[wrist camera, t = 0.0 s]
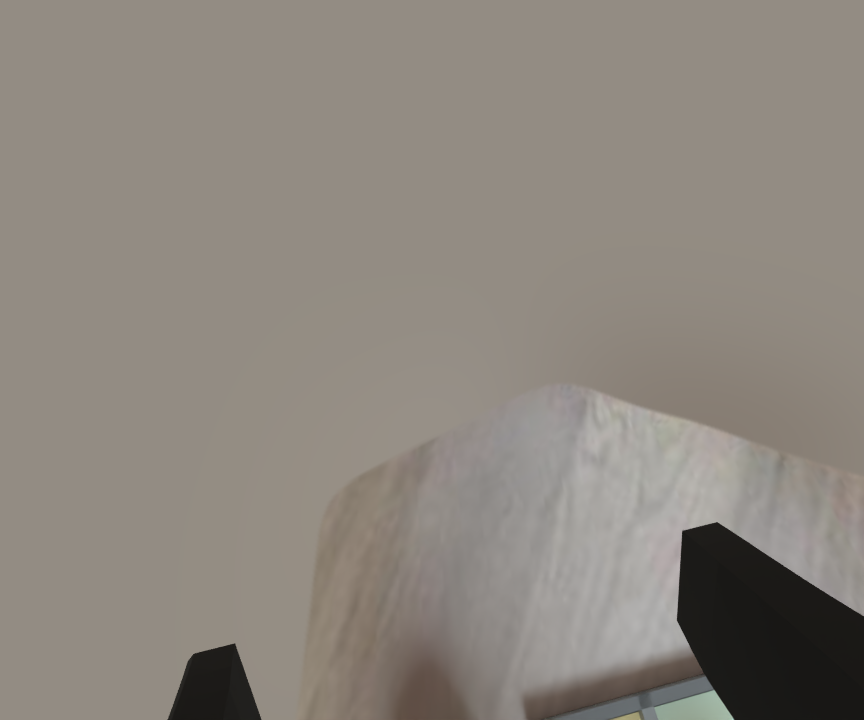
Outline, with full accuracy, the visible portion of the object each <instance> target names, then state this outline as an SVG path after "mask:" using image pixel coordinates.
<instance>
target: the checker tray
mask: <svg viewBox="0 0 864 720" xmlns="http://www.w3.org/2000/svg"><path fill="white" fill-rule="evenodd" d="M542 720H734V719H733V717H732V716H731V714H730V713H729V711H728V710H727V708H726V707H725V705H724V704H723V702H722V701H721V699H720V698H719V696H718V695H717V693H716V692H715V690H714V689H713V687H712V686H711V684H710V683H709V681H708V680H707V678H706V676H705V674H702V675H699V676H695V677H692V678H688V679H684V680H681V681H677V682H674V683H670V684H667V685H663V686H660V687H656V688H652V689H649V690H645V691H642V692H638V693H635V694H631V695H628V696H624V697H620V698H617V699H613V700H610V701H606V702H603V703H599V704H596V705H592V706H588V707H585V708H581V709H578V710H574V711H571V712H567V713H564V714H560V715H556V716H553V717H549V718H546V719H542Z"/></svg>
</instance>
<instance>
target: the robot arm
mask: <svg viewBox="0 0 864 720" xmlns="http://www.w3.org/2000/svg"><path fill="white" fill-rule="evenodd" d="M677 621H678V623H679V625H680V627H681V629H682V631H683V633H684V635H685V637H686V639H687V641H688V643H689V645H690V647H691V649H692V651H693V653H694V655H695V657H696V659H697V661H698V663H699V665H700V666H701V668H702V670H703V672H704V674H705V676H706V678H707V680H708V681H709V683H710V684H711V686H712V687H713V689H714V690H715V692H716V693H717V695H718V696H719V698H720V699H721V701H722V702H723V704H724V705H725V707H726V708H727V710H728V711H729V713H730V714H731V716H732V717H733V719H734V720H864V616H862V615H861V614H859V613H857V612H856V611H854V610H852V609H851V608H849V607H848V606H846V605H844V604H843V603H841V602H839V601H838V600H836V599H835V598H833V597H831V596H830V595H828V594H827V593H825V592H823V591H822V590H820V589H819V588H817V587H815V586H814V585H812V584H811V583H809V582H808V581H806V580H804V579H803V578H801V577H800V576H798V575H797V574H795V573H794V572H792V571H791V570H789V569H788V568H786V567H784V566H783V565H781V564H780V563H778V562H777V561H775V560H774V559H772V558H771V557H769V556H768V555H766V554H765V553H763V552H762V551H760V550H759V549H757V548H756V547H754V546H753V545H751V544H750V543H748V542H747V541H745V540H744V539H742V538H741V537H739V536H738V535H736V534H735V533H733V532H732V531H730V530H728V529H727V528H725V527H724V526H722V525H721V524H719V523H718V522H716V523H712V524H708V525H704V526H700V527H696V528H692V529H688V530H684V531H682V546H681V562H680V579H679V595H678V612H677ZM168 720H261V717H260V714H259V711H258V709H257V706H256V703H255V700H254V697H253V694H252V691H251V688H250V686H249V683H248V680H247V677H246V674H245V671H244V668H243V665H242V662H241V659H240V657H239V654H238V651H237V649H236V645H235V644H231V645H227V646H223V647H219V648H215V649H211V650H207V651H203V652H199V653H195V654H193V655H192V657H191V658H190V659H189V661H188V663H187V666H186V669H185V672H184V675H183V679H182V681H181V684H180V687H179V690H178V693H177V696H176V698H175V701H174V704H173V707H172V709H171V712H170V715H169V718H168Z"/></svg>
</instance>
